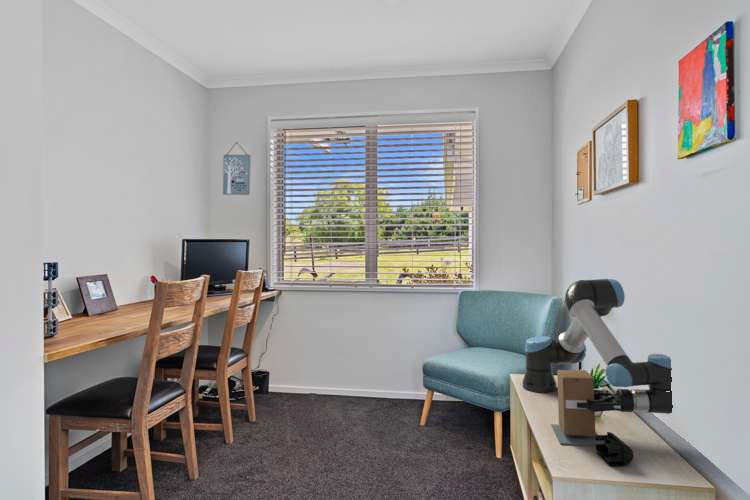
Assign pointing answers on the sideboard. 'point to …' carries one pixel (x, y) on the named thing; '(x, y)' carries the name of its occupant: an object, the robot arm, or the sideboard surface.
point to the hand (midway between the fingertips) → (562, 398)
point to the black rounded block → (613, 450)
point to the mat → (574, 438)
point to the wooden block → (575, 388)
